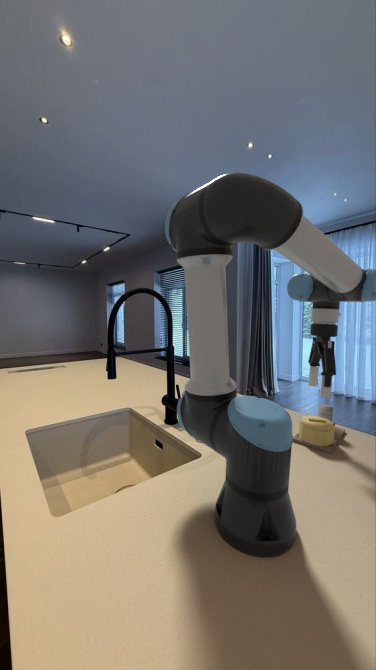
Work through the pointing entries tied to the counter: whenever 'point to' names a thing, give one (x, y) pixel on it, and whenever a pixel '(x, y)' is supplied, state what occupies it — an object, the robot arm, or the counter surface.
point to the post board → (327, 413)
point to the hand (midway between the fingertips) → (318, 391)
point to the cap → (316, 430)
